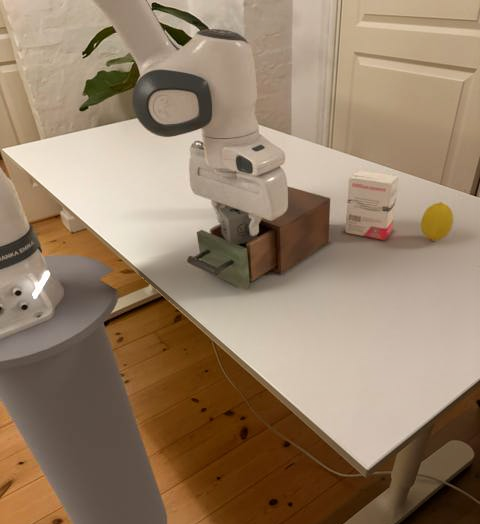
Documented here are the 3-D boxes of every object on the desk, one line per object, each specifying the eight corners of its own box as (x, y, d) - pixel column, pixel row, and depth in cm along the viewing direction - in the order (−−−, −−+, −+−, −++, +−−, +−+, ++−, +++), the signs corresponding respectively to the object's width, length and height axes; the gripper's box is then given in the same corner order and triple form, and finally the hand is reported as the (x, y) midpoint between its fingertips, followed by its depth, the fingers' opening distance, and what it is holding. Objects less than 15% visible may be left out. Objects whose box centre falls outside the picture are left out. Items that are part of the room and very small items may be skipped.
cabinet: (281, 274, 85) (279, 227, 79) (233, 253, 93) (229, 209, 87) (328, 243, 93) (330, 198, 87) (280, 226, 100) (279, 183, 95)
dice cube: (247, 228, 85) (245, 202, 82) (257, 239, 81) (256, 213, 78) (221, 234, 84) (218, 208, 81) (230, 246, 80) (228, 219, 77)
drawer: (226, 303, 78) (221, 263, 73) (183, 280, 85) (176, 242, 80) (294, 258, 88) (294, 221, 83) (251, 241, 94) (248, 205, 90)
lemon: (412, 237, 92) (419, 199, 87) (438, 232, 93) (445, 194, 88) (427, 250, 88) (435, 211, 83) (454, 244, 89) (463, 205, 84)
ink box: (392, 230, 95) (400, 174, 88) (384, 241, 92) (391, 184, 85) (353, 223, 99) (357, 168, 92) (344, 233, 96) (347, 177, 89)
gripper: (175, 143, 78) (187, 219, 86) (265, 167, 66) (269, 252, 74) (203, 133, 81) (211, 207, 89) (293, 154, 69) (294, 237, 77)
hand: (238, 228), depth 82 cm, fingers open, 5 cm apart
